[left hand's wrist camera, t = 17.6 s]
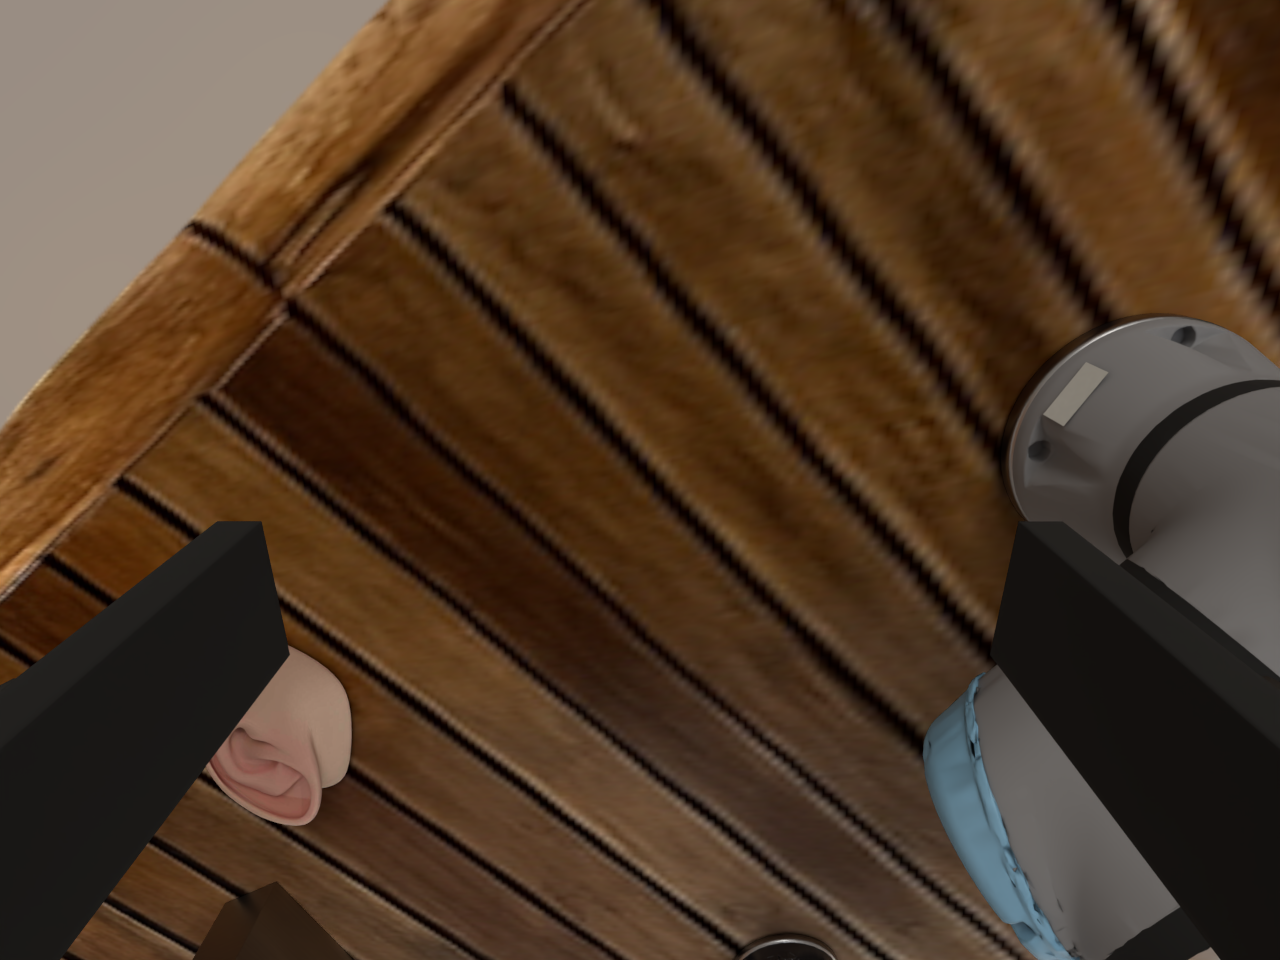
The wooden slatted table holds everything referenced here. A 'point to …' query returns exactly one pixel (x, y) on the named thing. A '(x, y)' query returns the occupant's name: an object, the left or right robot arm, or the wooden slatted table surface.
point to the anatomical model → (288, 744)
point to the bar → (267, 931)
